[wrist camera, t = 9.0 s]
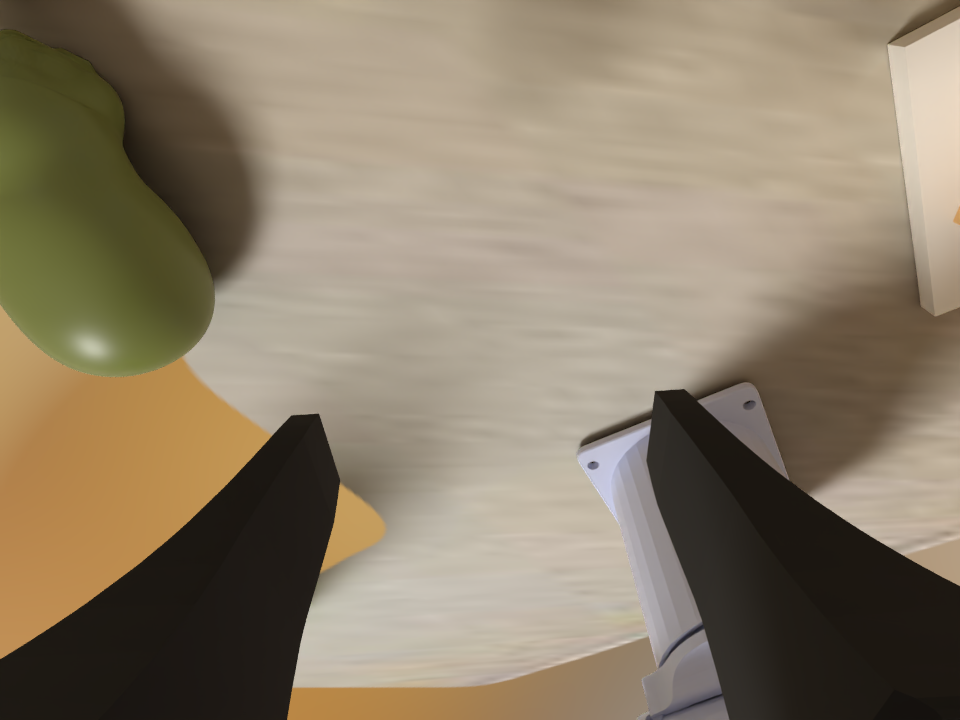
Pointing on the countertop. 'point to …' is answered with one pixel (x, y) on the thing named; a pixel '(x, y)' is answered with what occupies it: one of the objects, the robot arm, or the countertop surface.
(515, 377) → the countertop surface
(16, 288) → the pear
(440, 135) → the countertop surface
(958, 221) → the cardboard-colored cube
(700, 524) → the robot arm
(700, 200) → the countertop surface
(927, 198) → the plate
